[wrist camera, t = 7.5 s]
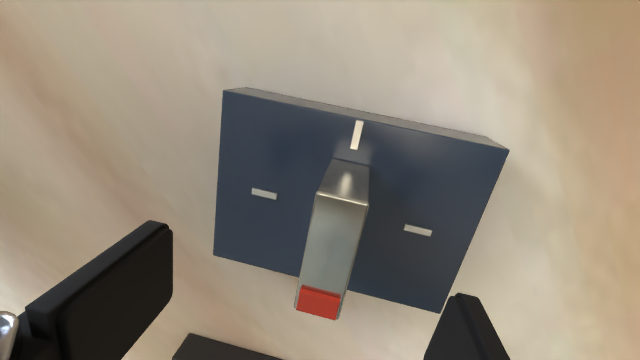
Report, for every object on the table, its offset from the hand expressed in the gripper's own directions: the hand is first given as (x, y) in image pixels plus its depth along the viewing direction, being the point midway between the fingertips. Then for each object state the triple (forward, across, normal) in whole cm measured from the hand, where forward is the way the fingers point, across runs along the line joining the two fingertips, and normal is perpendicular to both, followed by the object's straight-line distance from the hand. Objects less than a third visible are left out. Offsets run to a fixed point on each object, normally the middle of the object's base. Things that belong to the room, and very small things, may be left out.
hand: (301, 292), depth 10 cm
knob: (+7, -1, 0) cm, 7 cm away
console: (+10, -1, 0) cm, 10 cm away
